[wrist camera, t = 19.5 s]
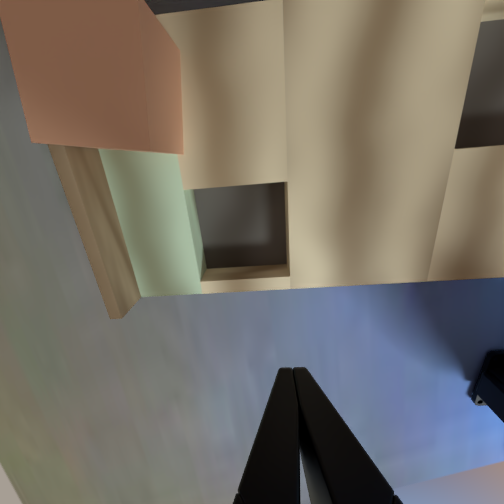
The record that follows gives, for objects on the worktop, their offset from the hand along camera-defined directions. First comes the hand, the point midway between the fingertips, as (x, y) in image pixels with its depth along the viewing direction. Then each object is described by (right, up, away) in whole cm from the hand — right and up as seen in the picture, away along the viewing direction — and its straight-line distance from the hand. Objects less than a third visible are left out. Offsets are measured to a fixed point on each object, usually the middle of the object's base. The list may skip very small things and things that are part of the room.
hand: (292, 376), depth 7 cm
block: (-8, +12, +6) cm, 16 cm away
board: (+4, +10, +9) cm, 14 cm away
